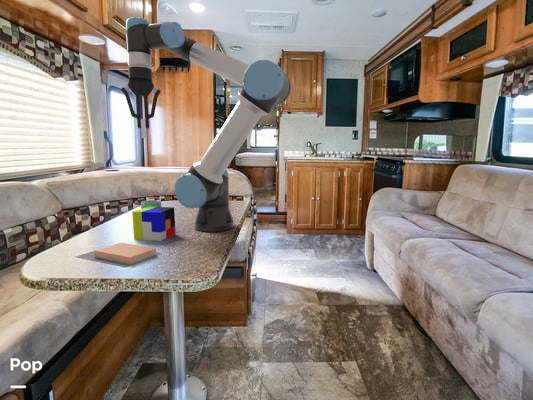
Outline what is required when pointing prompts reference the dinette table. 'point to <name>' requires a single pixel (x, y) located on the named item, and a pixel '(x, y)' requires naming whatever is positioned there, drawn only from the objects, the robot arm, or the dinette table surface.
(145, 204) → the cup
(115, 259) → the tile
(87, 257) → the mat
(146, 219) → the puzzle toy
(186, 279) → the dinette table surface
